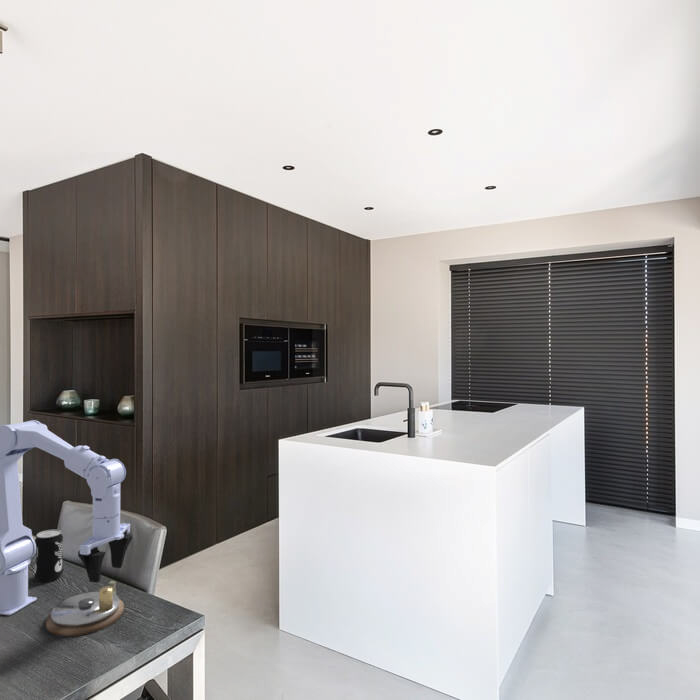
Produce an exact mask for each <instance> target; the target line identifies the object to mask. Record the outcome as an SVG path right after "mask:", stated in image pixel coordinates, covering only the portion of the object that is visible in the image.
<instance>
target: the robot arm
mask: <svg viewBox="0 0 700 700" xmlns="http://www.w3.org/2000/svg"><path fill="white" fill-rule="evenodd" d="M34 448H38V449H40V450H42V451H44V452H46V453H48V454H50V455H52V456H54V457H57V458H59V459H61V460H63V464H64V467H65V469H67V470H70V471H72V472H73V473H75V474H77V475H78V476H80V477H81V478H84V479H85V480H86V483H87V485H88V487H89V489H90V495H91V497H92V535H90V536H89V538H87V540H85V541H84V542H83V543H82V544H80V545H79V550H78V553H77V556H78V558H79V559H80V560H81V562H82V564H83V565H84V568H85V571H86V573H87V577H88V581H89V582H90V583H95V584H96V583H99V582H100V581H101V575H102V574H101V573H102V565H103V562H104V558H105V556H106V553H107V552H106V551H100V549H99V548H100V547H102V546H103V545H105V544H107V543H108V546H109V550H110V560H111V562H110V563H111V566H112V568H116V569H121V568H122V567H123V563H124V560H125V556H126V553H127V550H128V547H129V545H130V543H131V542H132V539H133V535H132V534H130V532H131V523H125V522H122V523H121V483H122V482H123V481H124V480H125V479H126V475H127V470H126V467H125V464H124V463H123V462H122V461H120V460H119V459H117V458H112V459H108V458H107V457H106V456H104V455H100V454H98V453H96V452H94V451H92V450H91V449H90V446H88V445H77V446H72V445H71V444H70V443H68V442H67V441H65V440H63V439H62V437H59V436H58V435H56V434H55V433H53V432H52V431H50V430H49V429H48V426H47V425H46V424H45V423H42V422H40V421H38V420H36V419H31V420H28V421H23V422H22V421H21V422H17V423H12V424H2V425H1V424H0V615H5V616H12V615H13V614H14V613H16V612H18V611H20V610H22V609H23V608H25V607H27V606H28V605H30V604H32V603H34V602H35V601H37V600H38V599H37V597H36V596H29V565H30V564H31V559H32V558H34V557H35V553H36V544H35V539H34V538H33V533H32V529H30V528H29V527H27V526H25V525H24V524H23V515H22V514H23V513H22V512H23V511H22V502H21V499H22V498H21V488H20V477H19V476H20V475H19V466H18V465H19V464H18V462H19V460H20V458H22V456H24V454H25V453H27V452H28V451H29V450H32V449H34Z"/></svg>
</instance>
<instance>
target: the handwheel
mask: <svg viewBox="0 0 700 700" xmlns="http://www.w3.org/2000/svg"><path fill="white" fill-rule="evenodd" d="M119 599H120V598H119V595H117V594H116V595H115V594H113V587H112V586H108V585H107V586H102V587H100V588H99V589H98V591H89V592H84V593H80V594H77V595H74V596H73V595H72V596H69V598H66V599H64V600H62V601H60V602H58V603H57V604H56V605H55V606H54V607H53V608H52V610H51V612H50V613H51V620H52V622H53V623H54V624H55V625H57V626H61V627H82V626H87V625H91V624H95V623H98V622H100V621H103V620H105V619H107V618H109V617H110V616H112V615H113V614H114V613H115V612H116V611H117V610H118V609H119Z"/></svg>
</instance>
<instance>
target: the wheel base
mask: <svg viewBox="0 0 700 700" xmlns="http://www.w3.org/2000/svg"><path fill="white" fill-rule="evenodd" d="M107 586H112V587H113V594H115V595H117V581H116V580H110V581H109V582H108V583H107ZM123 612H125V603H124V602H123V601H122V599H120V598H119V609H118V610H117V611H116V612H115V613H114V614H113V615H112V616H110V617H109V618H107V619H105V620H103V621H100V622H98V623H95V624H91V625H87V626H82V627H61V626H57V625H55V624H54V623H53V622H52V620H51V612H49V614H48V615H47V617H46V618H45V619H46V620H45V628H46V630H47V631H48V632H49V633H51V634H53V635H56V636H62V637H75V636H77V637H78V636H83V635H88V634H91V633H95V632H98V631H100V630H104V629H106V628H108V627H110V626H112V625H113V624H114V623H116V622H117V621H119V620H120V619H121V618H122V616H123V615H124V613H123Z"/></svg>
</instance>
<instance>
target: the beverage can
mask: <svg viewBox="0 0 700 700" xmlns="http://www.w3.org/2000/svg"><path fill="white" fill-rule="evenodd" d="M34 541H35V544H36V553H35V555H34V563H33V564H34V568H33V569H34V576H33V577H34V579H35V580H36V581H37V582H39V583H47V582H54V581H55V579H56V580H57V578H58V579H59V578H60V577H61V575H63V572H64V571H63V570H64V568H63V565H64V564H63V563H64V558H63V557H64V555H63V554H64V552H63V551H64V550H63V549H64V547H63V546H64V536H63V534H62V530H60V529H47V530H42V531H40V532H38V533H37V534H36V537H35V539H34Z"/></svg>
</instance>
